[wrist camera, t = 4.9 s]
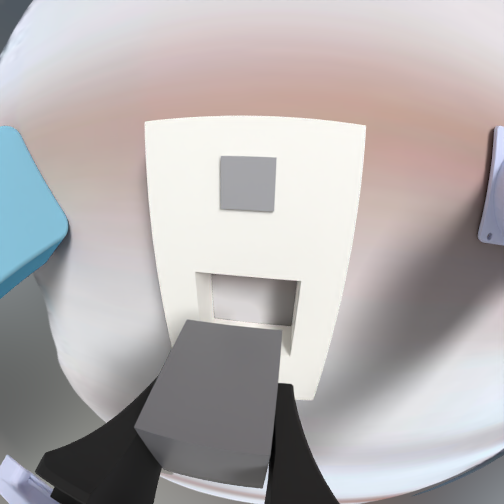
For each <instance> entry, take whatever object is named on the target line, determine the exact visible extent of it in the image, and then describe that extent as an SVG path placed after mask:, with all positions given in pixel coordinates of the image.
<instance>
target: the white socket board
mask: <svg viewBox="0 0 504 504" xmlns="http://www.w3.org/2000/svg"><path fill="white" fill-rule="evenodd" d="M365 134H366V126H365V125H358V124H351V123H344V122H336V121H327V120H318V119H306V118H293V117H274V116H207V117H189V118H175V119H164V120H155V121H146V122H145V149H146V170H147V185H148V197H149V209H150V219H151V228H152V236H153V244H154V252H155V259H156V266H157V273H158V279H159V285H160V291H161V297H162V302H163V308H164V313H165V318H166V323H167V328H168V333H169V337H170V342H171V346H172V348H173V346H174V344H175V342H176V340H177V338H178V336H179V334H180V332H181V330H182V328H183V326H184V324H185V322H186V320H187V319H188V320H195V321H202V322H210V323H217V324H225V325H234V326H243V327H252V328H262V329H274V330H282V343H281V356H280V368H279V379H278V383H287V384H292V385H293V386H294V396H295V400H313V399H314V396H315V393H316V390H317V387H318V384H319V380H320V377H321V374H322V371H323V367H324V364H325V360H326V357H327V353H328V350H329V346H330V343H331V339H332V335H333V331H334V327H335V323H336V319H337V315H338V311H339V307H340V303H341V298H342V294H343V289H344V284H345V280H346V275H347V270H348V265H349V259H350V254H351V249H352V243H353V237H354V231H355V224H356V218H357V211H358V204H359V196H360V188H361V179H362V170H363V159H364V148H365ZM211 273H213V274H224V275H235V276H246V277H258V278H269V279H282V280H295V281H297V287H296V296H295V303H294V311H293V319H292V326H284V325H272V324H261V323H251V322H241V321H232V320H224V319H216V318H214V309H213V294H212V278H211Z"/></svg>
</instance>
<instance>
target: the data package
mask: <svg viewBox="0 0 504 504" xmlns="http://www.w3.org/2000/svg"><path fill="white" fill-rule="evenodd" d="M67 232H68V220H67V217H66V215H65V214H64V212H63V210H62V209H61V207H60V206H59V204H58V203H57V201H56V199H55V198H54V196H53V194H52V193H51V191H50V189H49V188H48V186H47V184H46V183H45V181H44V179H43V177H42V175H41V174H40V172H39V170H38V168H37V166H36V165H35V163H34V161H33V159H32V157H31V155H30V153H29V151H28V149H27V147H26V145H25V143H24V141H23V139H22V137H21V135H20V133H19V132H18V131H17V130H16V129H14V128H12V127H10V126H0V299H1V298H2V297H3V296H4V295H5V294H7V293H8V292H9V291H10V290H11V289H12V288H14V287H15V286H16V285H18V284H19V283H20V282H21V281H22V280H24V279H25V278H26V277H28V276H29V275H30V274H31V273H33V272H34V271H35V270H37V269H38V268H39V267H41V266H42V265H43V264H45V263H46V262H47V260H48V259H49V258H50V256H51V255H52V253H53V252H54V251H55V249H56V248H57V247H58V245H59V244H60V243H61V241H62V240H63V239H64V237H65V236H66V234H67Z"/></svg>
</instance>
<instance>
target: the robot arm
mask: <svg viewBox="0 0 504 504" xmlns="http://www.w3.org/2000/svg"><path fill="white" fill-rule="evenodd" d="M488 234H489V236H488ZM487 236H488V237H487ZM478 239H479V240H480V241H481V242H483V243H490V244H496V245H503V246H504V127H502V126H496V127H495V129H494V141H493V153H492V162H491V170H490V177H489V184H488V190H487V195H486V201H485V206H484V210H483V215H482V219H481V223H480V227H479V231H478ZM158 376H159V375H158ZM157 378H158V377H157ZM157 378H156V379H155V380H154V381H153V382H152V383H151V384H150V385H149V386H148V387H147V388H146V389H145V390H144V391H143V392H142V393H141V394H140V395H139V396H138V397H137V398H136V399H135V400H134V401H133V402H132V403H131V404H130V405H128V406H127V407H126V408H125V409H124V410H123V411H122V412H120V413H119V414H118V415H117V416H115V417H114V418H113V419H112V420H110V421H109V422H107V423H106V424H105V425H103V426H102V427H100V428H99V429H97V430H95V431H94V432H92V433H90V434H89V435H87V436H85V437H83V438H82V439H79V440H77V441H75V442H73V443H71V444H68V445H66V446H64V447H61V448H58V449H55V450H52V451H49V452H46V453H45V454H44V456H43V457H42V459H41V461H40V463H39V465H38V467H37V469H36V471H35V472H36V474H38V475H39V476H40V477H42V478H43V479H44V480H46V481H47V482H49V483H50V484H51V485H53V486H54V487H55V488H54V489H52V488H51V487H49V486H48V485H47V484H46V483H45V482H43V481H42V480H41V479H39V478H38V477H37V476H35V475H33V474H32V473H31V472H30V471H28V470H27V469H25V468H24V467H23V466H21V465H20V464H19V463H18V462H16V461H15V460H14V459H13V458H11V457H10V456H9V455H7V456H6V457H5V459H4V461H3V462H2V464H1V466H0V494H1V495H2V496H3V497H4V498H5V499H6V500H7V502H8V503H9V504H153V503H154V498H155V493H156V488H157V484H158V480H159V476H160V472H161V468H162V467H161V465H160V464H159V463H158V461H157V460H156V459H155V457H154V456H153V455H152V453H151V452H150V450H149V449H148V448H147V446H146V445H145V443H144V442H143V440H142V439H141V437H140V436H139V434H138V433H137V431H136V430H135V428H134V426H135V424H136V422H137V420H138V417H139V415H140V413H141V411H142V409H143V407H144V405H145V403H146V401H147V399H148V396H149V394H150V392H151V390H152V388H153V386H154V384H155V382H156V380H157ZM265 504H339V502H338V501H337V499H336V498H335V496H334V495H333V493H332V491H331V490H330V488H329V486H328V485H327V483H326V482H325V480H324V478H323V476H322V474H321V472H320V470H319V468H318V466H317V464H316V462H315V460H314V458H313V455H312V453H311V451H310V448H309V446H308V443H307V440H306V438H305V435H304V432H303V429H302V425H301V422H300V419H299V415H298V411H297V407H296V402H295V396H294V386H293V385H292V384H287V383H278V390H277V400H276V410H275V419H274V428H273V437H272V446H271V454H270V459H269V475H268V484H267V491H266V497H265Z"/></svg>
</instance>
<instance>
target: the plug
mask: <svg viewBox="0 0 504 504" xmlns="http://www.w3.org/2000/svg"><path fill="white" fill-rule="evenodd" d="M281 343H282V330H274V329H262V328H252V327H243V326H234V325H225V324H217V323H210V322H202V321H195V320H188V319H187V320H186V322H185V324H184V326H183V328H182V330H181V332H180V334H179V336H178V338H177V340H176V342H175V344H174V346H173V348H172V350H171V352H170V354H169V356H168V358H167V360H166V362H165V364H164V366H163V368H162V370H161V372H160V374H159V376H158V378H157V380H156V382H155V384H154V386H153V388H152V390H151V392H150V394H149V396H148V399H147V401H146V403H145V405H144V407H143V409H142V411H141V413H140V415H139V417H138V420H137V422H136V424H135V426H134V428H135V430H136V431H137V433H138V434H139V436H140V437H141V439H142V440H143V442H144V443H145V445H146V446H147V448H148V449H149V450H150V452H151V453H152V455H153V456H154V457H155V459H156V460H157V461H158V463H159V464H160V465H161V467H162V468H163V469H164V470H167V471H171V472H174V473H178V474H182V475H186V476H190V477H194V478H198V479H203V480H208V481H213V482H218V483H224V484H230V485H237V486H244V487H253V488H263V485H264V481H265V476H266V472H267V468H268V464H269V459H270V454H271V446H272V437H273V428H274V419H275V410H276V400H277V390H278V379H279V368H280V356H281Z"/></svg>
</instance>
